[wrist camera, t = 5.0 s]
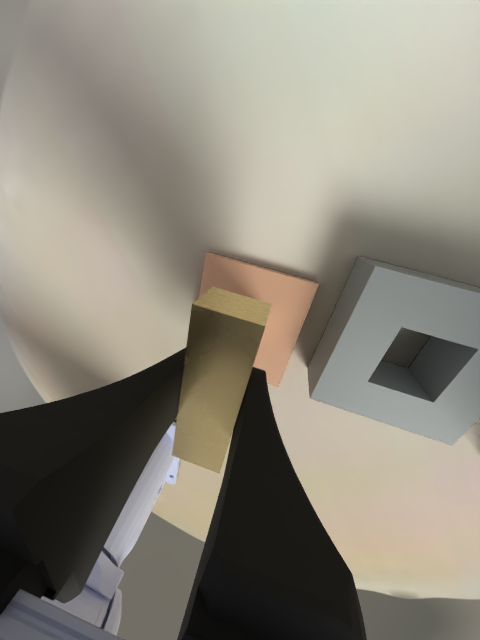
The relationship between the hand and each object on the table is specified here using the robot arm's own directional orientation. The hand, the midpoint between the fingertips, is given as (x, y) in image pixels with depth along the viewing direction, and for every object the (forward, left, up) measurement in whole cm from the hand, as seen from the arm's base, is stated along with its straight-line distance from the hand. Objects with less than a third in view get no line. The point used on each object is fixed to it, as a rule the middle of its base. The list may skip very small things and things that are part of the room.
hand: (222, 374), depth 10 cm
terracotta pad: (0, 0, -6) cm, 6 cm away
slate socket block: (+2, -9, -6) cm, 11 cm away
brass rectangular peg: (0, 0, -5) cm, 5 cm away
